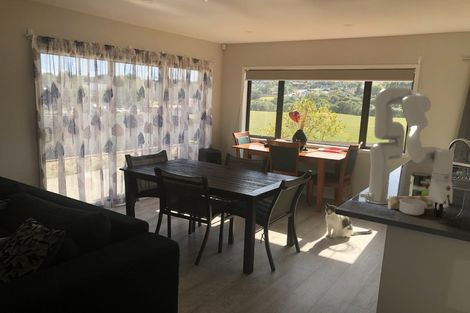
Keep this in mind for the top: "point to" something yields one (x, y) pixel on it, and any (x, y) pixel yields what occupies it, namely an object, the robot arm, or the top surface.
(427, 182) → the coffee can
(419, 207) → the saucepan
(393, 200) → the stop board
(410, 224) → the top surface
